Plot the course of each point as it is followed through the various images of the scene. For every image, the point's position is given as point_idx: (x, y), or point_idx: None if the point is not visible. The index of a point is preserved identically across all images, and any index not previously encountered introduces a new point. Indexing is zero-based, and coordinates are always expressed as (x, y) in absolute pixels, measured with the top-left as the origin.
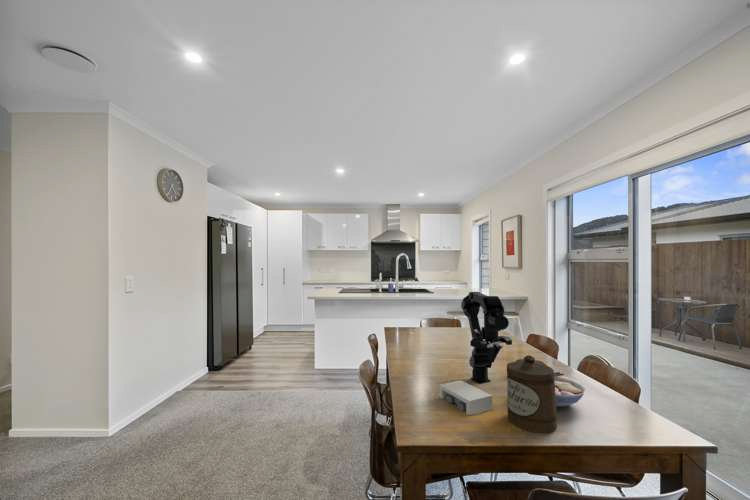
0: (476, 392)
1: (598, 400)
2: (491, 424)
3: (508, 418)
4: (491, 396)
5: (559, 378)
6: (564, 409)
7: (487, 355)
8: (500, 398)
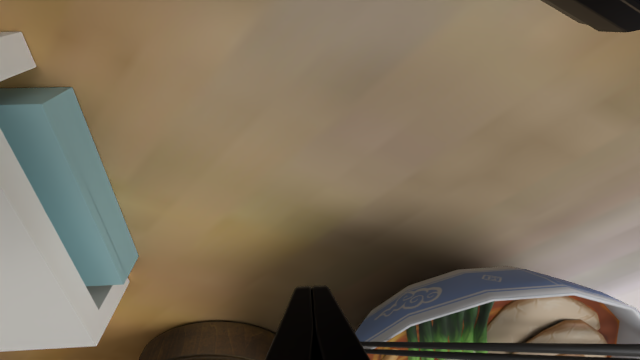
0: (3, 299)
1: None
2: (51, 349)
3: (145, 347)
4: (92, 342)
5: (637, 357)
6: None
7: (628, 2)
8: (265, 213)
